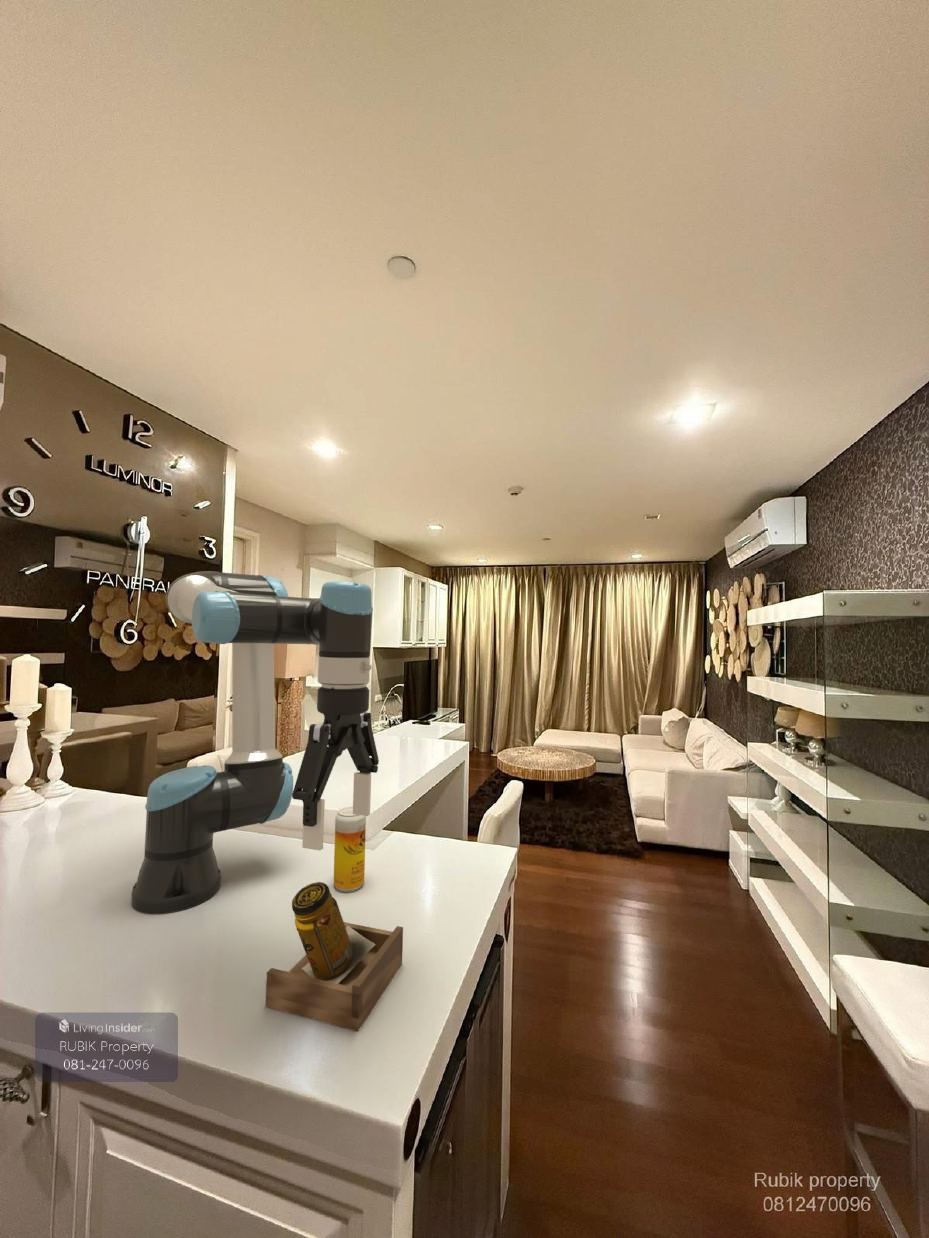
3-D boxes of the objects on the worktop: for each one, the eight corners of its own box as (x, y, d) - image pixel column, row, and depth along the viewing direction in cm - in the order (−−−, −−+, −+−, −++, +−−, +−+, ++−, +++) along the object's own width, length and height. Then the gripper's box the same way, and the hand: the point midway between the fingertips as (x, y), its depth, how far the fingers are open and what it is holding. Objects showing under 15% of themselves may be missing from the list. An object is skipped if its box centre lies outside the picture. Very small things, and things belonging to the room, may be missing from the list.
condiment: (301, 969, 73) (276, 902, 70) (348, 926, 79) (326, 862, 76) (329, 994, 68) (303, 922, 65) (376, 946, 74) (354, 878, 71)
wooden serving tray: (265, 1006, 67) (266, 964, 68) (322, 946, 81) (323, 911, 81) (358, 1031, 63) (359, 986, 64) (402, 963, 77) (403, 927, 77)
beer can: (356, 895, 97) (358, 817, 98) (327, 891, 98) (330, 814, 99) (368, 880, 103) (370, 807, 104) (341, 877, 104) (343, 804, 105)
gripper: (318, 695, 61) (312, 871, 60) (400, 680, 85) (397, 805, 84) (267, 692, 63) (260, 861, 62) (361, 678, 87) (357, 800, 86)
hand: (339, 829), depth 73 cm, fingers open, 13 cm apart
